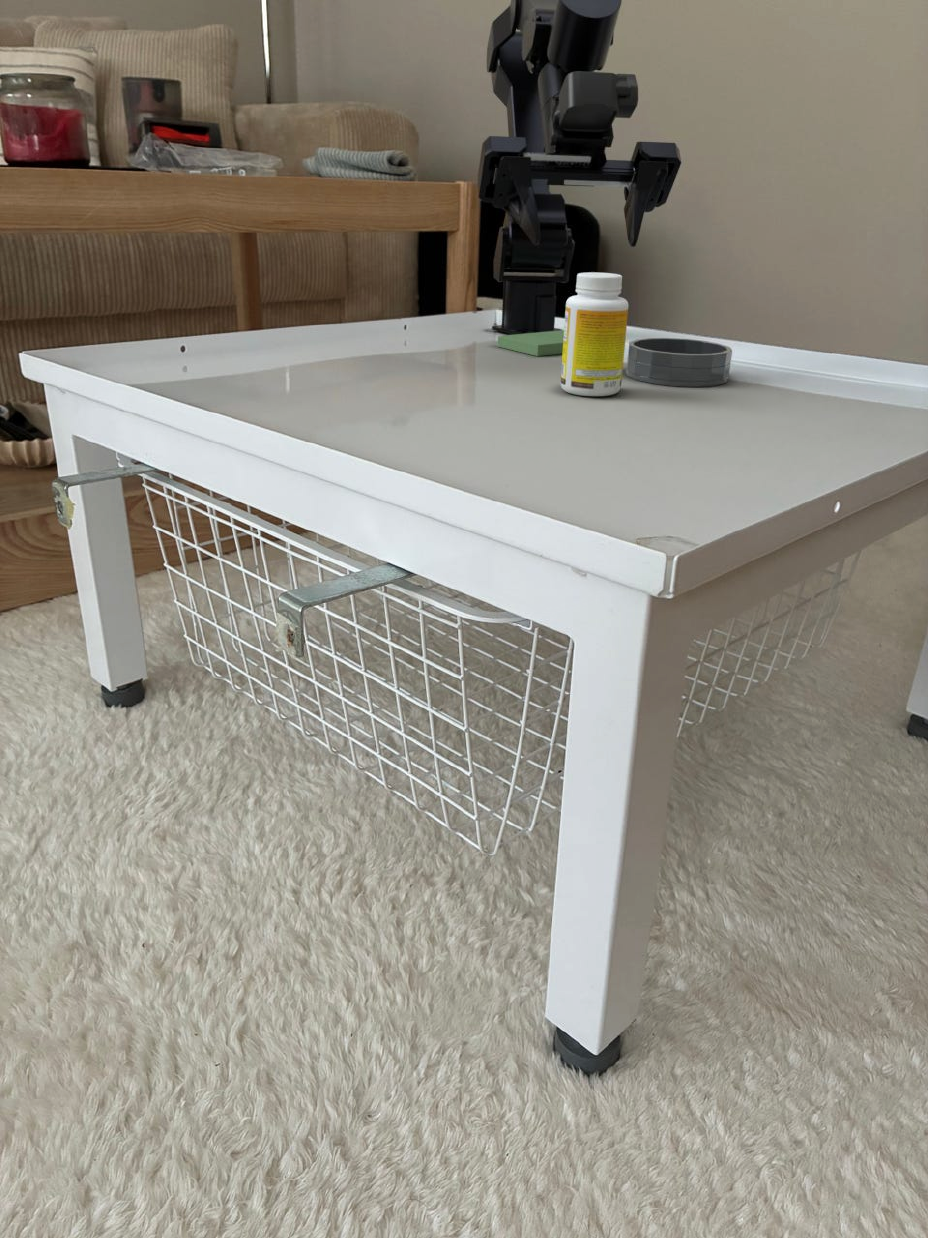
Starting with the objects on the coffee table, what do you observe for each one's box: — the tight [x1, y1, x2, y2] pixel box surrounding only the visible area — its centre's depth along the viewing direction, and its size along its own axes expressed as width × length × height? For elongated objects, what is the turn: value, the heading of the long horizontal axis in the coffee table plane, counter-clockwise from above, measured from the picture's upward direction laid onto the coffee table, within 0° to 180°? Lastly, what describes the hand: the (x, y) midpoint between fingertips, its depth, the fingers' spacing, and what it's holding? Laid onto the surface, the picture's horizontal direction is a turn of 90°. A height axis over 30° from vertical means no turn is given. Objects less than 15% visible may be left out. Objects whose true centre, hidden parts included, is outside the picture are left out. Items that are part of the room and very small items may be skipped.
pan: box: [625, 337, 733, 388], centre depth 95 cm, size 10×10×3 cm
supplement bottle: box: [560, 271, 629, 397], centre depth 85 cm, size 6×6×10 cm
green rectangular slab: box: [497, 329, 564, 357], centre depth 109 cm, size 7×10×1 cm
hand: (586, 242), depth 88 cm, fingers open, 9 cm apart
